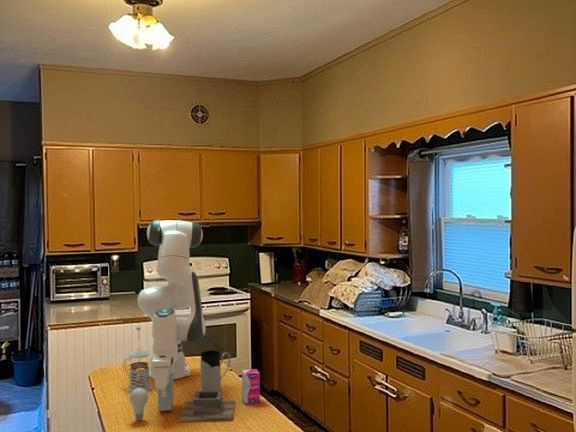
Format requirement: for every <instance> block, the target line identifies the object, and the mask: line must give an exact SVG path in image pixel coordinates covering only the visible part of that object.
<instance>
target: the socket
mask: <svg viewBox="0 0 576 432" xmlns="http://www.w3.org/2000/svg"><path fill="white" fill-rule="evenodd" d="M235 403H236V402H235V400H233V399H231V400H223V390H222V391H200V390H199V391H195V393H194V397H193V399H192V400H189V401H185V403H184V405H183V408H182V411H181V414H180V416H179V418H178V421H179V423H203V422H232V421H233V420H234V413H235V412H234V411H235V405H236V404H235Z"/></svg>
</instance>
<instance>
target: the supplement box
mask: <svg viewBox="0 0 576 432" xmlns="http://www.w3.org/2000/svg"><path fill="white" fill-rule="evenodd" d="M241 380H242V381H241V400H242V402H243V404H244V405H253V404H260V403H261V399H260V398H261V396H260V394H261V389H260V388H261V387H260V385H261V373H260V371H259V370H258V369H257V368H252V369H251V368H250V369H242V370H241Z"/></svg>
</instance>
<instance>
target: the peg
mask: <svg viewBox="0 0 576 432" xmlns="http://www.w3.org/2000/svg"><path fill="white" fill-rule="evenodd" d="M173 380H174V379H173V373H171V375H170V381H169V384H168V386H167V396H166V397H161V389H157V400H158V401H157V406H158V407H157V410H158V411H172V409H173V407H174V381H173Z"/></svg>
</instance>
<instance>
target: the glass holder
mask: <svg viewBox="0 0 576 432" xmlns="http://www.w3.org/2000/svg"><path fill="white" fill-rule="evenodd" d="M225 354H227V355H228V362H227V363H228V364H227V366H226V370H225V371H224V372H223V374H222V373H221V372H222V371H221V369H222V367H221V365H222V364H223V358H224V356H225ZM230 364H231V354H230V353H228V352H223V353H222V355H221V352H220V351H218V350H205V351H202V352H200V390H199V391H222V392H223V389H222V385H221V384H222V379H223V378H224V376H225V375H226V373H227V372H228V370H229V368H230Z"/></svg>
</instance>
